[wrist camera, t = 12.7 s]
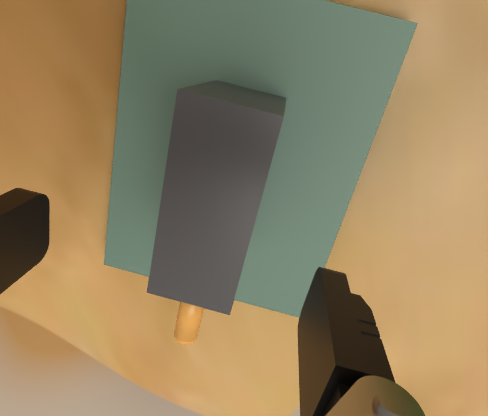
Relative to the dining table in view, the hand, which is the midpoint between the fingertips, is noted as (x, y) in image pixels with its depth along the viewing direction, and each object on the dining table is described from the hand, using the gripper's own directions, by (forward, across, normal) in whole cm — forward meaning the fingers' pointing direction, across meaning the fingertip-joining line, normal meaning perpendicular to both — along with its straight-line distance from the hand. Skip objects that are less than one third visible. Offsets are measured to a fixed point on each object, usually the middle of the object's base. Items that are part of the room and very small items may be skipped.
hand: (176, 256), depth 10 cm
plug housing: (+11, 0, +2) cm, 11 cm away
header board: (+12, 0, 0) cm, 12 cm away
